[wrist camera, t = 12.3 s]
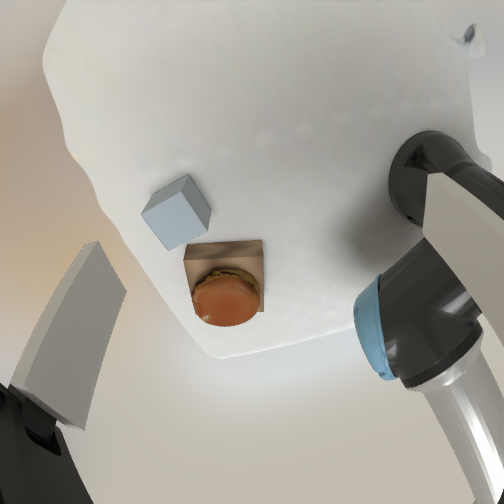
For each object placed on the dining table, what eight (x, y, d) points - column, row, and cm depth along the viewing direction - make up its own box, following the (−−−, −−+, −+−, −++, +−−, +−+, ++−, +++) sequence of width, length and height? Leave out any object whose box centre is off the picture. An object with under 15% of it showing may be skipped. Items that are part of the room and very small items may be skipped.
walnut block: (260, 238, 43) (263, 256, 39) (261, 292, 49) (263, 311, 45) (187, 242, 43) (183, 260, 39) (198, 295, 49) (195, 314, 45)
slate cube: (188, 173, 36) (180, 191, 31) (211, 209, 39) (207, 231, 34) (152, 194, 37) (140, 215, 32) (175, 227, 40) (168, 251, 36)
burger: (272, 284, 42) (275, 307, 38) (233, 318, 46) (234, 341, 42) (217, 251, 38) (214, 274, 34) (181, 291, 42) (177, 314, 38)
